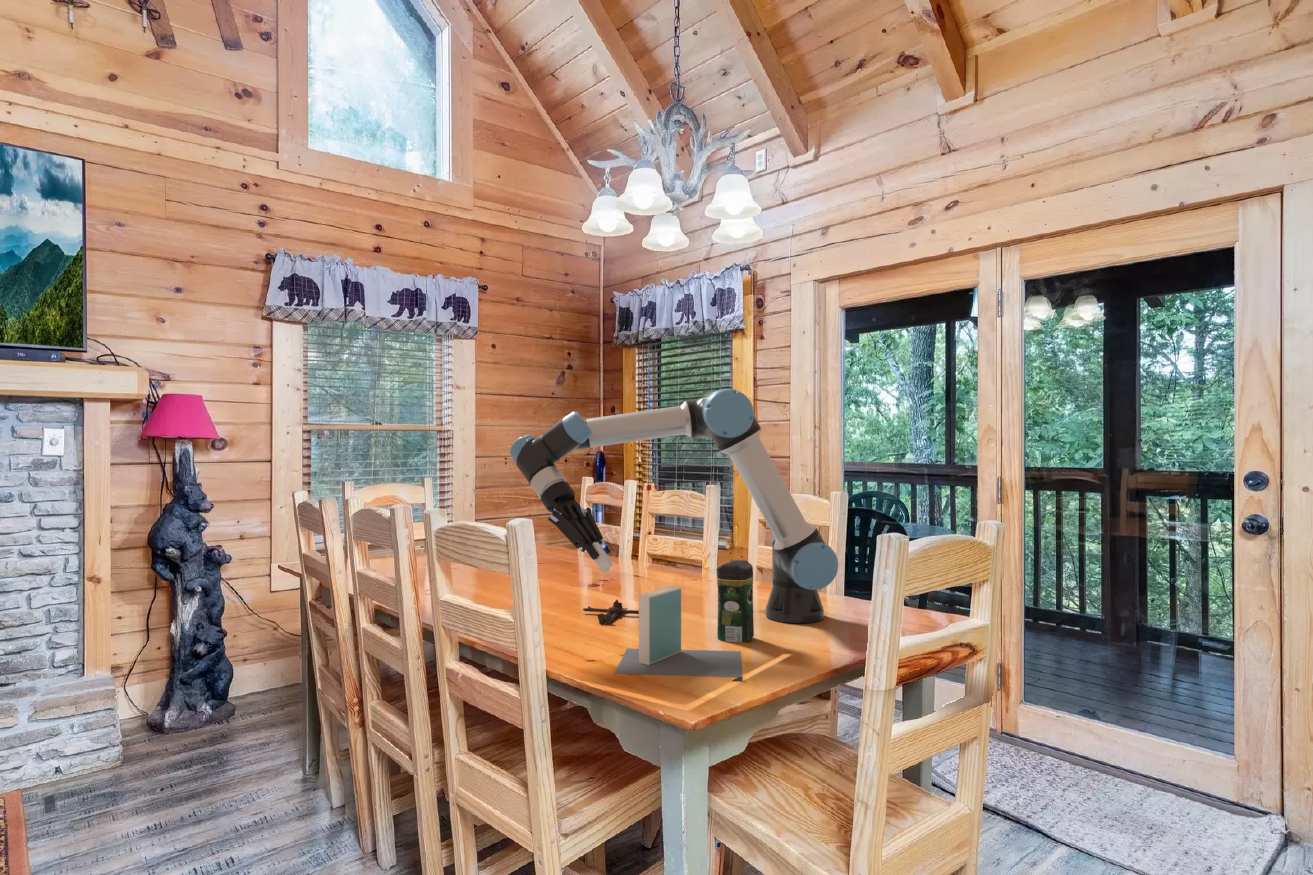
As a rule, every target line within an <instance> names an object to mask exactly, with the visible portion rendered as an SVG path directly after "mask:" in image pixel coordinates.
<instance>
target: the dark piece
mask: <svg viewBox="0 0 1313 875" xmlns="http://www.w3.org/2000/svg"><path fill="white" fill-rule="evenodd" d="M582 610H583V611H584V612H589V613H591V612H592V613H593V612H595V613H598V614H597V619H598V620H597V621H598V623H599V624H600V625H604V623H605V624H606V625H611V624H612V622H614V620H615V619H616V618H618V617H619V615H621V614H622V615H623V614H624V615H629V614H630V615H639V609H638V610H635V609H634V610H633V609H630V610H629V609H628V607H623V603H622V602H619V599H615V601H614V602H613V604H612V606H610V607H608V608H597V607H596V608H594V607H592V606H589V605H588V606H587V607H584V608H583V609H582ZM604 613H605V614H604Z"/></svg>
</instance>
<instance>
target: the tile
mask: <svg viewBox="0 0 1313 875" xmlns="http://www.w3.org/2000/svg"><path fill="white" fill-rule="evenodd" d="M638 610H639V614H638V649H639V663H642V664H646V665H650V664H652V663H655V662H657V661H659V660H662V659H664V658H667V657H669V656H672V655H674V654H676V653H679V652H681V650H682V587H681V586H677V585H670V586H666V587H663V588H659V589H656V590H655V589H654V590H651V591H649V592H644V593H641V594H638Z"/></svg>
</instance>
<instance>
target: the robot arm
mask: <svg viewBox="0 0 1313 875" xmlns="http://www.w3.org/2000/svg"><path fill="white" fill-rule="evenodd" d="M761 432H762V428H761V426H760V424H759V421H758V420H757V419H756V416H755V411H754V406H753V404H752V402H751V400H750V399H749V397H748V396H747V395H746V394H744V393H743V392H741V391H739V390H736V389H734V388H727V387H726V388H720V389H718V390H716V391H715V390H714V392H712V393H710V394H708V395H705V396H703V397H699V398H696V399H691V400H685V401H684V402H682V404H681V405H678V406H669V407H662V408H655V409H648V410H642V411H641V410H640V411H635V412H633V411H632V412H625V413H619V414H614V415H607V416H599V417H592V418H591V417H590V418H586V419H583V417H582V416H581V414H580V413H579V412H577V411H571V412H570V413H569V414H567V415H565V416H564V417H562V418H561V419H560V420H559V421H558V422H556V423H555V424H553V426H551V427H550V428H549V429H547V430H546V431H545V432H543V434H541V435H539V436H537V437H536V436H535V435H533V434H525V435H523V436H520V437H519V438H517V439H516V440H515V441H514V442H512V444H511V446H510V448H509V454H510V456H511V458H512V460H513V461H514V463H515V465H516V467H517V468H518V470H519V472H521V474H522V476H523V477H524V478H525V479H526V481H527V482H528V484H529V485H530V487H531V488H532V489H533V491H534V493H535V494H536V495H537V497H538V498H539V499H540V501H541V503H542V505H544V507H545V509H546V510H547V511H548V512H549V513H551V514H550V515H549V516H548V518H547V520H548V521H549V522H550V523H552V524H553V525H554V526H556V528H557V529H558V530H559V531H560V532H561V533H562V534H563V535H564V536H565V537H566V539H568V540H569V542H570V543H571V544H572V545H573V546H574V547H575V548H576V549H577V550H579V549H580V551H581V553H585V552H587V554H588V555H589V557H590V558H591V560H593V561H594V562H595V564H596V565H597V567H598V569H599V570H600V571H601V573H602V574H604V573H608V572H609V570H610V569H611V568H613V566H614V563H613V561H612V560H611V559H610V557H609V556H608V554H607V552H606V550H605V549H604V548H603V546H602V544H601V541H602V540H603V539H604V537H603V535H602V532H601V531H600V528H599V526H598V524H597V523H596V521H595V518H594V517H593V513H592V508H590V507H586V509H585V508H583V507H582V505H581V504H580V503H579V502H577V500H576V498H575V497H576V496H575V495H576V493H575V491H574V489H573V487H571V485H570V484H569V482H568V481H567V479H566V478H565V476H564V475H563V474H562V473H561V471H560V469H558V467H557V465H556V463H558V462H559V461H560V460H561V459H563V458H564V457H566V456H567V455H568V454H569V453H571V452H572V451H577V450H585V449H590V448H595V447H597V448H598V447H602V446H603V447H605V446H611V445H618V444H625V443H633V442H640V441H647V440H653V439H654V440H655V439H662V438H666V437H667V438H668V437H676V436H683V435H685V436H686V437H688V438H697V437H711V439H712V440H713V442H714V444H715V446H716V447H717V449H718V452H719V453H722V454H726V455H728V456H729V458H730V459H731V462H732V464H733V465H734V467H735V468H736V470H737V472H738V475H740V478H741V479H742V482H744V485H745V486H746V488H747V490H748V491H749V494H750V495H751V497H752V499H753V501H754V503H755V505H756V506H757V508H758V509H759V512H760V513H761V515H762V517H763V518H764V520H765V522H766V524H767V526H768V528H769V530H770V531H771V533H772V541H771V545H772V546H771V547H772V548H771V549H772V550H771V551H772V559H771V560H772V563H771V564H772V566H771V567H772V573H771V574H772V585H771V586H772V587H771V591H770V594H769V597H768V599H767V603H766V605H765V606H766V607H765V616H766V618H768V619H770V620H772V621H776V622H781V623H791V624H811V623H816V622H817V623H818V622H821V621H823V620H824V618H825V612H824V611H825V610H824V607H823V603H822V600H821V597H820V594H819V593H820V592H819V591H818V590H823V588H824V589H825V588H826V587H828V586H829V585H830V584H832V582H833V581H834V580H835V578H836V576H837V574H838V570H839V558H838V556H837V554H836V552H835V551H834V550H833V549H832V547H831V546H830V545H828V544H827V543H826V542H825V540H824V539H823V536H822V535H821V533H820V531H819V529H818V528H817V526H816V525H815V524H813V523H809V522H807V521H806V519H805V517H804V515H803V514H802V511H801V510H800V509H799V506H798V504H797V503H796V501H795V499H794V497H793V496H792V494H791V492H790V489H788V487H787V485H786V483H785V482H784V480H783V478H782V477H781V475H780V473H779V471H778V468H777V467H776V465H775V464H774V462H773V460H772V458H771V456H770V454H769V452H768V451H767V449H766V447H765V446H764V443H763V441H762V440H761V438H760V437H761Z"/></svg>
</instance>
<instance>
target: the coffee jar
mask: <svg viewBox="0 0 1313 875" xmlns="http://www.w3.org/2000/svg"><path fill="white" fill-rule="evenodd" d="M716 571H717V572H716V573H717V574H716V581H717V633H716V634H717V640H718V641H721V642H726V643H727V642H728V643H737V644H741V643H749V642H751V641H752V640H753V638H754V635H755V633H754V632H755V629H754V628H755V627H754V624H755V623H754V568H753V564H751V563H750V562H749V561H747V560H744V559H743V560H740V559H731V560H730V561H728V562H725V563H722V564H721V565H719V566H718V567H717V568H716Z"/></svg>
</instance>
